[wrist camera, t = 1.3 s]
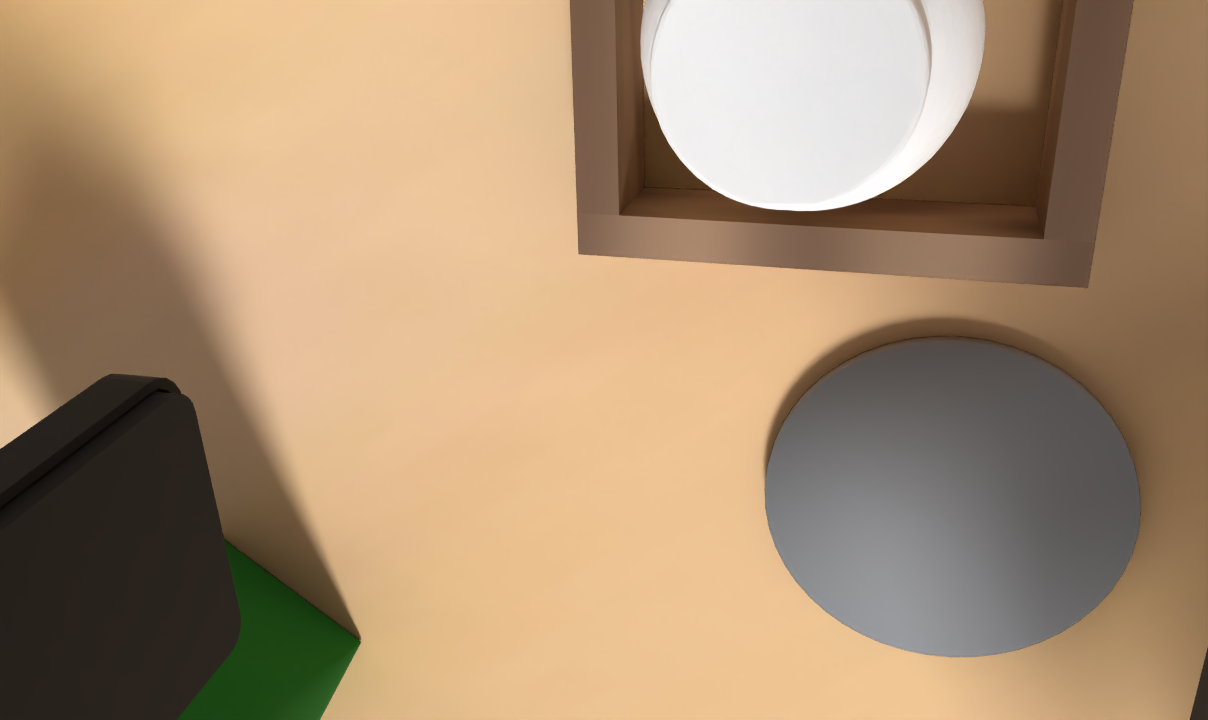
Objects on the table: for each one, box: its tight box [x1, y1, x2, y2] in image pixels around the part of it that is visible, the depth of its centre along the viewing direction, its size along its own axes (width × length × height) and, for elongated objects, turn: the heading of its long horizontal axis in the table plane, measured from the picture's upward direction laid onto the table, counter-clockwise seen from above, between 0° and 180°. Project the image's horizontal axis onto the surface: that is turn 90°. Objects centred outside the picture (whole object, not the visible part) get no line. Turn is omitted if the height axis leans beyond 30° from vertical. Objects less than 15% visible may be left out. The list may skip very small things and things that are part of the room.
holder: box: [570, 0, 1134, 288], centre depth 29 cm, size 13×13×3 cm
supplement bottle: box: [640, 0, 985, 211], centre depth 24 cm, size 7×7×13 cm
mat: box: [765, 336, 1141, 657], centre depth 35 cm, size 11×11×1 cm
